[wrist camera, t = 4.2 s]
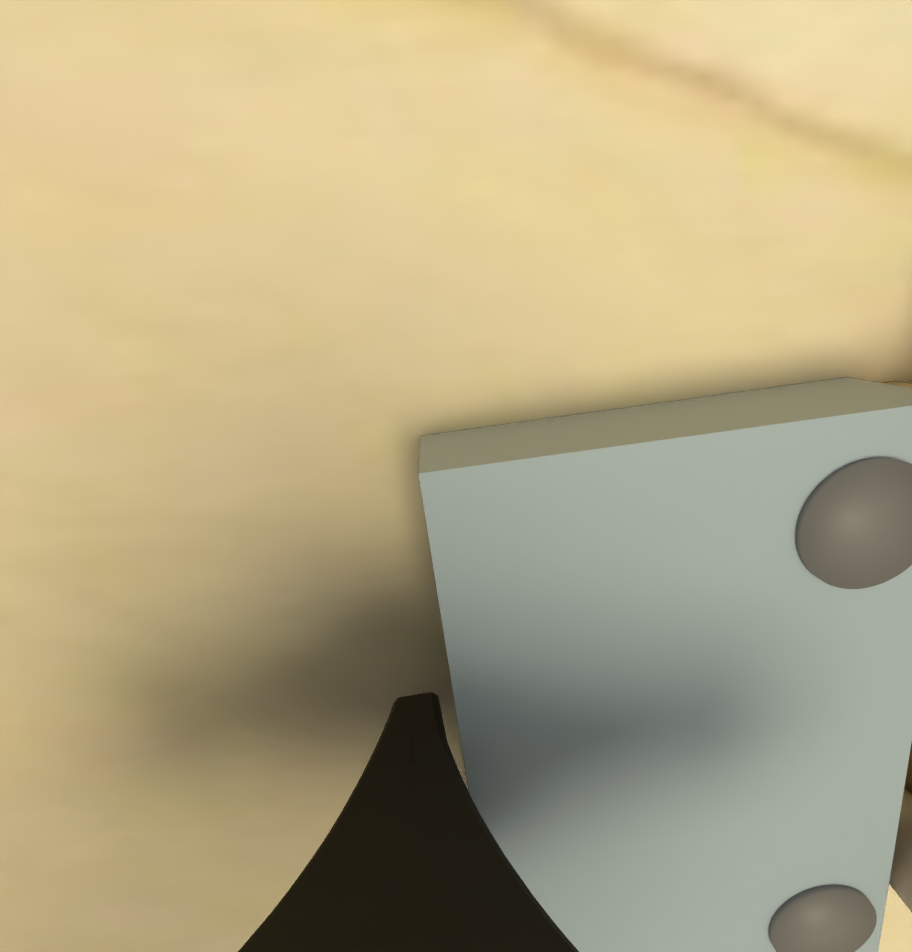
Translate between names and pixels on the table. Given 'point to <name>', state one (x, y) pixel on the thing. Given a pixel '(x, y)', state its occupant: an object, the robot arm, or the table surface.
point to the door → (687, 660)
